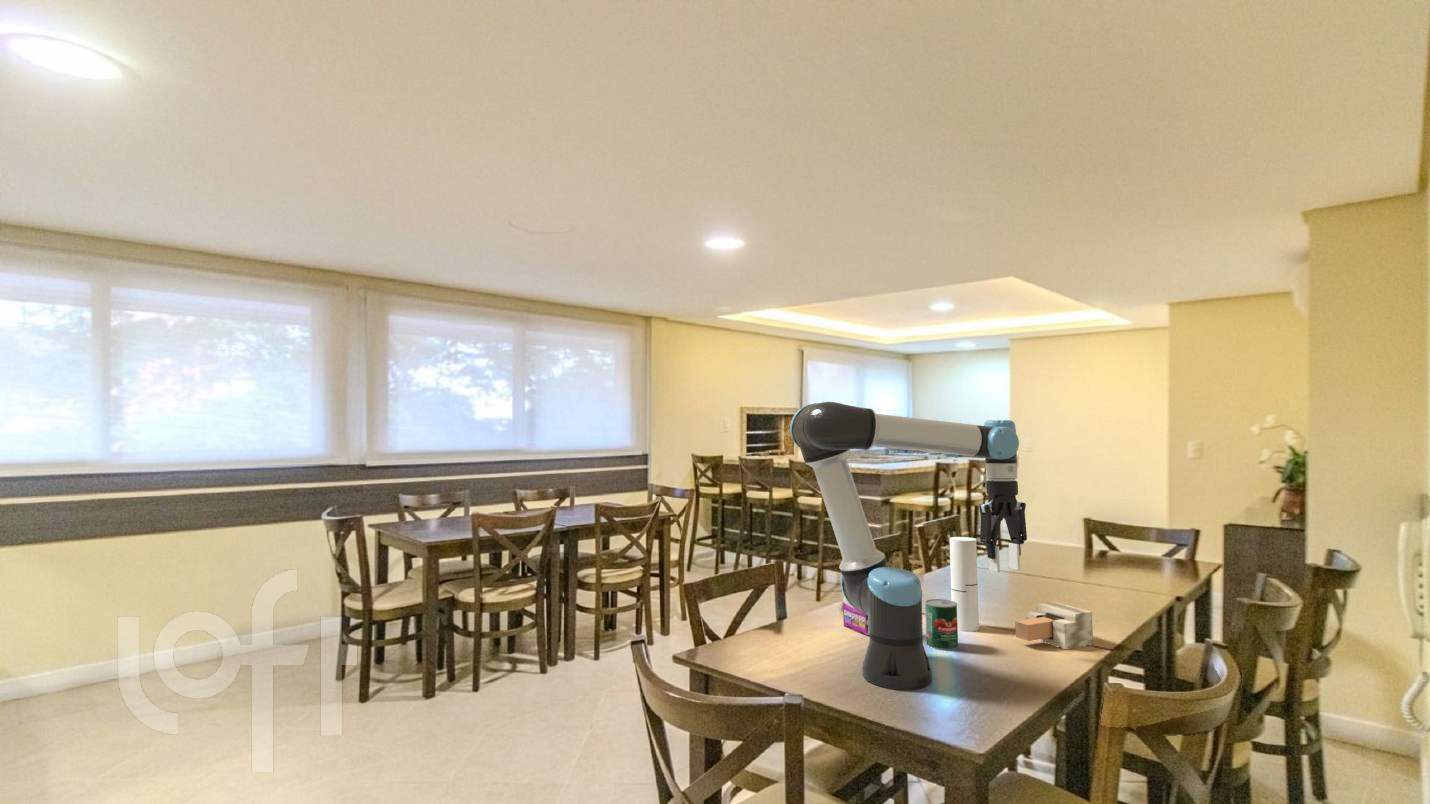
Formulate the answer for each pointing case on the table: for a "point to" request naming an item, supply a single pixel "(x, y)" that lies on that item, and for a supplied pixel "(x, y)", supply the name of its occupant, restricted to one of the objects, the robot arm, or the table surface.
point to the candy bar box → (855, 618)
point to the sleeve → (1065, 624)
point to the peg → (1034, 628)
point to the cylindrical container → (964, 582)
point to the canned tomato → (941, 624)
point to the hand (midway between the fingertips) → (1004, 570)
